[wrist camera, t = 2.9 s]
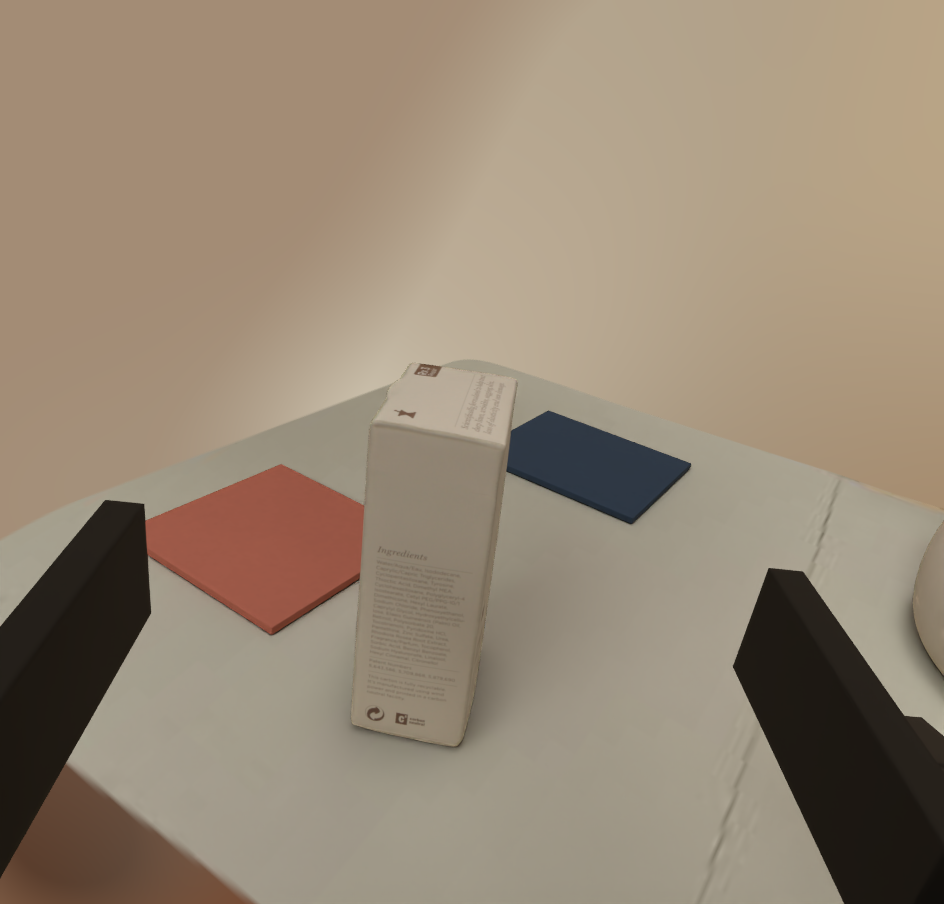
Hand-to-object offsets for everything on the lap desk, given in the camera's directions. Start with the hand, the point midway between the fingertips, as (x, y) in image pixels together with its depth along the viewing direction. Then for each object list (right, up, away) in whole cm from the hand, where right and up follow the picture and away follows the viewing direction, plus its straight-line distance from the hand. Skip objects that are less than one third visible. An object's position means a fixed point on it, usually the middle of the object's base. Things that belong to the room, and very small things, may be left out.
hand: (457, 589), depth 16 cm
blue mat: (+8, +2, +33) cm, 34 cm away
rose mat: (-9, -1, +21) cm, 23 cm away
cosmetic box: (-2, -6, +14) cm, 15 cm away
